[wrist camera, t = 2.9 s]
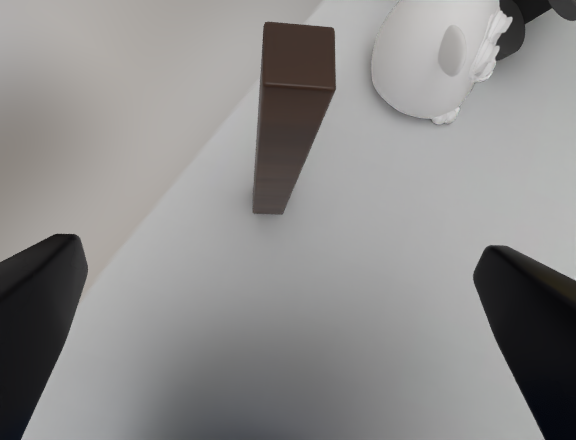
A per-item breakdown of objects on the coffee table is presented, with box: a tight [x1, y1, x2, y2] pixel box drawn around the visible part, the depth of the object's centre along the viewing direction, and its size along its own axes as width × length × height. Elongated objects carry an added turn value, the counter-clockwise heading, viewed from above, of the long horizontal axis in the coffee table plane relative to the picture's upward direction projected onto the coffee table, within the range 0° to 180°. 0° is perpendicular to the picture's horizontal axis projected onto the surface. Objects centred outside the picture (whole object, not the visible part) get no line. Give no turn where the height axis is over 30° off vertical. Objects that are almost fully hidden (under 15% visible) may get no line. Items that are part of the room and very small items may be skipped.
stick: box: [253, 22, 336, 214], centre depth 14 cm, size 2×2×12 cm
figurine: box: [371, 0, 512, 125], centre depth 19 cm, size 8×6×7 cm
